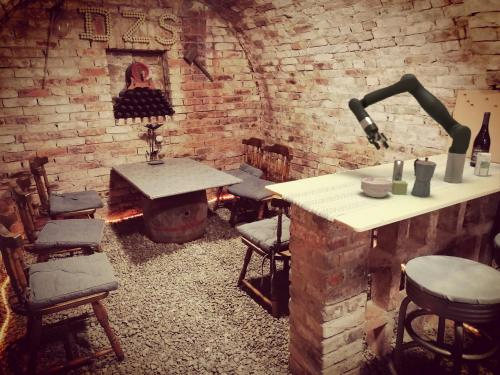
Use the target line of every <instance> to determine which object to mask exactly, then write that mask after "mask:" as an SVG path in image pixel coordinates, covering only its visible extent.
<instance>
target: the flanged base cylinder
mask: <svg viewBox="0 0 500 375" xmlns="http://www.w3.org/2000/svg"><path fill="white" fill-rule="evenodd" d="M404 163H405V161H404V160H400V159H396V160H394V161H393V168H392V169H393V170H392V176H391V177H392V178H391V181H403V180H402V178H403V172H404Z"/></svg>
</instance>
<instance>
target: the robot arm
mask: <svg viewBox="0 0 500 375" xmlns="http://www.w3.org/2000/svg"><path fill="white" fill-rule="evenodd" d="M404 93H409V95H411V96H412V97H413V98H414V99H415V100H416V102H417V103H418V105H419V106H420V107H421V109H422V110H423V111H424V112H425V113H426V114H427V115H428V116H429V117H430V118H431V119H432V120H433V121H434V122H436V123H437V124H439V125H440V127H442V128H443V130H444V131H445V133H447V134H448V135H449V138H450V139H452V142H451V146H450V147H448V151H447V160H446V164H445V170H444V175H443V176H444V178H443V181H444V182H447V183H452V184H461V183H462V180H463V176H464V175H463V174H464V169H465V163H466V158H467V151H468V150H469V148H470V144H471V139H472V130H471V128H470V127H469V126H466V125H463V124H461V123H459V122H458V120H456V119H455V118H454V117H453V116H452V114H451V113H450V112H449V110H448V108H447V107H446V105H445V104H444V103H443V102H442V101H441V100H440V99H439V98H438V97H437V96H436V95H434V94H433V93H432V92H430V91H429V90H428V89H427V88H425V87H424V85H423V84H422V83H421V82H420V81H419V79H418V78H417V77H416V75H415V74H413V73H405V74H404V75H402V76H401V78H400V80H398V81H397V82H395V83H393V84H391V85H390V84H389V85H388V86H384V87H382V88H378V89H376V90H373V91H370V92H369V93H366V94H364V96H363V97H362V98H361V99H358V98H354V97H353V98H350V100H348V103H347V106H348V108H349V109H350V111H351V112H352V114H353V115H354V116H355V118H356V119H357V122H358V123H359V125H360V127H361V128H362V130H363V131H364V133H365V135H366V136H365V137H366V139H367V141H368V143H369V144H370V145H373V146H374V147H375V148H376V150H377V151H379V150H380V149H381V148H382V147H381V145H380V144H379V143H382V145H383V147H384V148H385V150H386V149H387V150H388V149H389V148H390V146H389V143H388V142H387V141H388V137H386V136H385V134H384V133H383V132H381V133H380V132H379V129H380V128H379V127H378V125H377V124H376V123H375V121H374V120H373V118H372V117H371V116H370V114H369V113H368V112H367V110H366V109H367V108H369V106H370V107H371V106H372V105H374V104H377V103H379V102H381V101H384V100H386V99H388V98H391V97H393V96H397V95H401V94H404Z"/></svg>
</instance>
